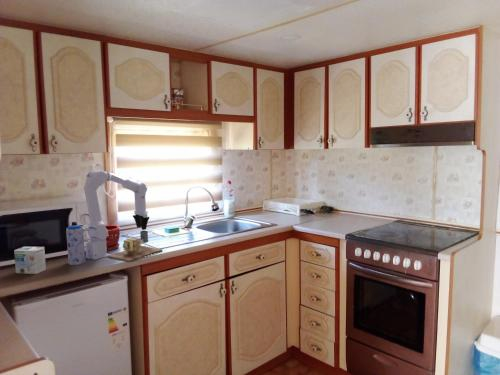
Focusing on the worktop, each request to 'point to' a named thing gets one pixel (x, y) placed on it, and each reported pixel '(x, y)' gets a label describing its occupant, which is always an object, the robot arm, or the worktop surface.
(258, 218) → the worktop surface
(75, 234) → the patterned water bottle
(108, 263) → the worktop surface
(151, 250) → the bearing stand
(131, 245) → the brass spacer
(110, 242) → the plant pot
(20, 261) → the light bulb box
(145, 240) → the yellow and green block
